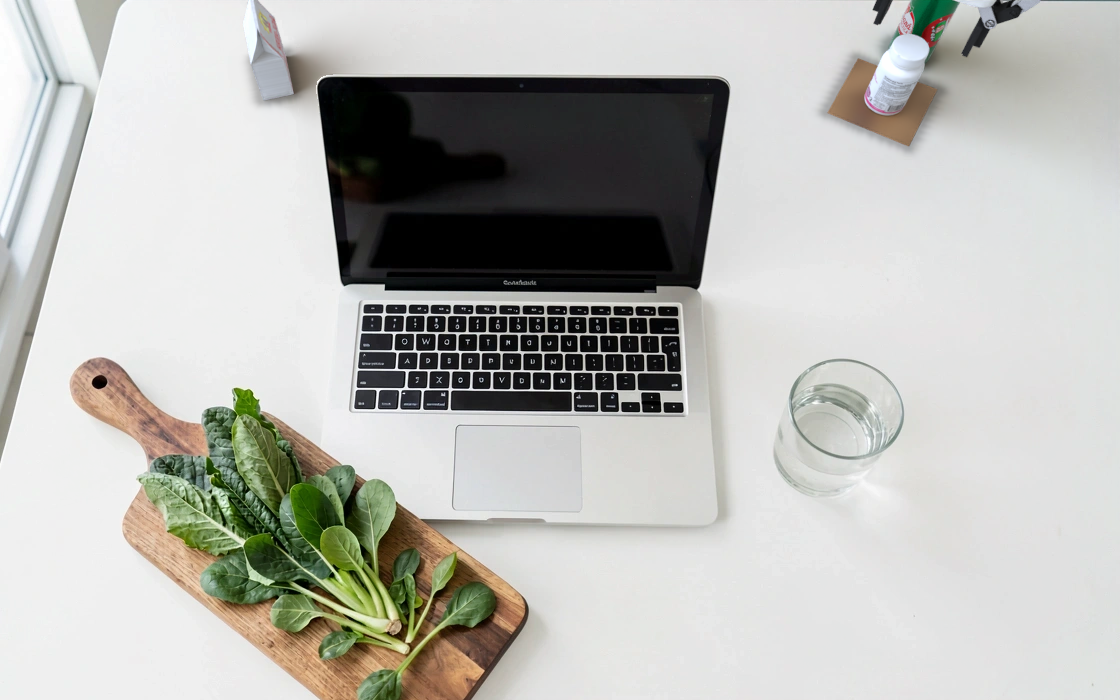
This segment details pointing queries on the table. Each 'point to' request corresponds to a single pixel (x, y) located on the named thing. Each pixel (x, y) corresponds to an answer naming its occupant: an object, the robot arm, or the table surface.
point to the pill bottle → (897, 75)
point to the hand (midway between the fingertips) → (923, 32)
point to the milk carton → (266, 52)
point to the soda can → (926, 21)
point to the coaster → (857, 112)
